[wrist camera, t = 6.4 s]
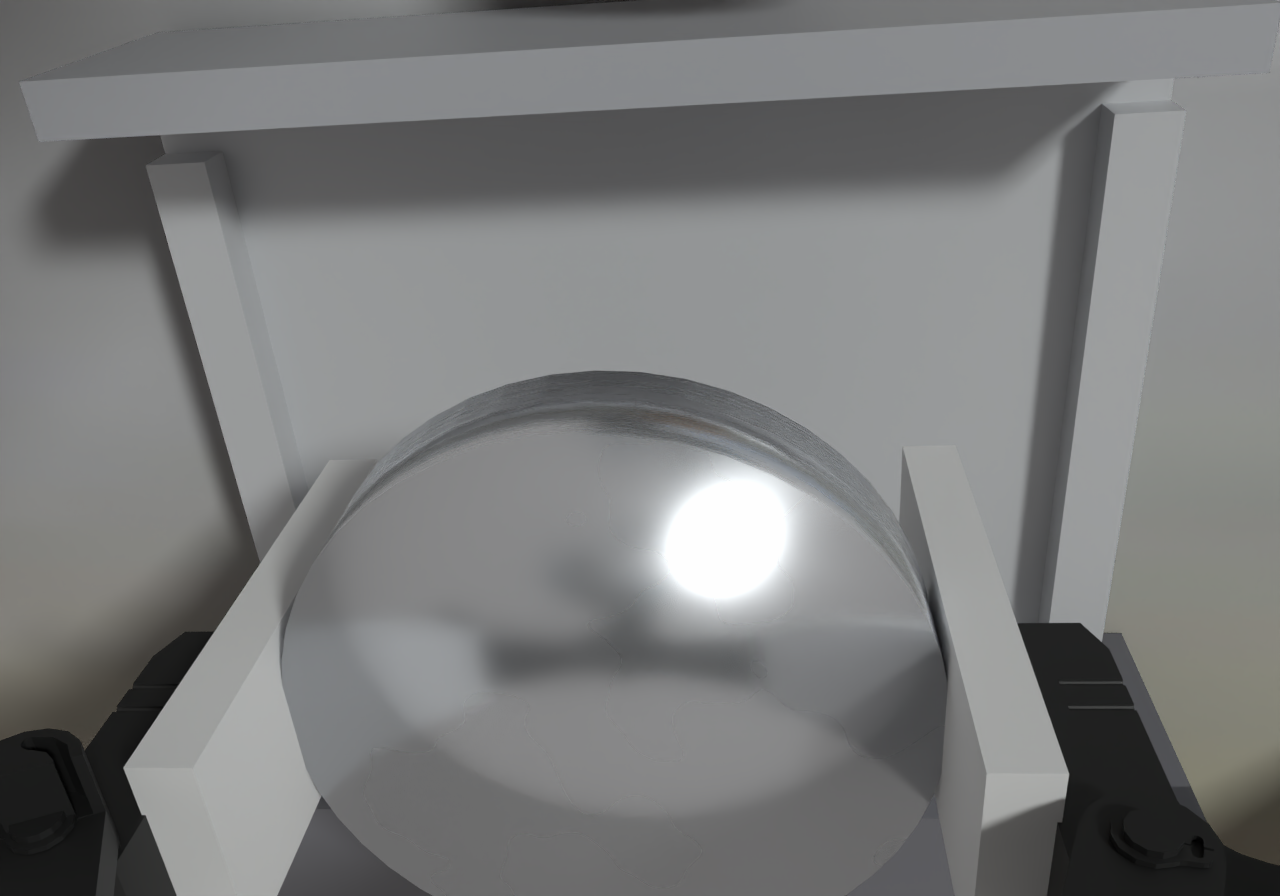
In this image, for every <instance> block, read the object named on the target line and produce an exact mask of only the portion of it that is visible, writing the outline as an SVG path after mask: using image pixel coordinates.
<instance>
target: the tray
mask: <svg viewBox="0 0 1280 896" xmlns="http://www.w3.org/2000/svg"><path fill="white" fill-rule="evenodd" d="M1279 21H1280V1H1277V0H636V1H621V2H606V3H591V4H576V5H562V6H547V7H532V8H517V9H502V10H487V11H472V12H457V13H442V14H427V15H412V16H397V17H382V18H367V19H352V20H337V21H322V22H307V23H292V24H277V25H263V26H248V27H233V28H218V29H203V30H188V31H173V32H158V33H154V34H152V35H149V36H146V37H143V38H140V39H138V40H135V41H132V42H129V43H126V44H124V45H121V46H118V47H115V48H112V49H109V50H107V51H104V52H101V53H98V54H95V55H93V56H90V57H87V58H84V59H81V60H79V61H76V62H73V63H70V64H67V65H65V66H62V67H59V68H56V69H53V70H51V71H48V72H45V73H42V74H39V75H37V76H34V77H31V78H28V79H25V80H22V81H20V82H19V84H20V87H21V90H22V93H23V96H24V99H25V102H26V105H27V108H28V111H29V114H30V117H31V120H32V123H33V126H34V129H35V132H36V135H37V138H38V141H39V142H45V141H63V140H81V139H98V138H116V137H134V136H152V135H160V137H161V141H162V144H163V148H164V151H165V155H163V156H161V157H159V158H158V159H156V160H154V161H152V162H151V163H149V164H147V165H145V166H146V169H147V173H148V176H149V180H150V183H151V187H152V190H153V193H154V197H155V200H156V204H157V207H158V211H159V214H160V218H161V221H162V225H163V228H164V232H165V235H166V239H167V242H168V246H169V249H170V252H171V256H172V259H173V263H174V266H175V270H176V273H177V277H178V280H179V284H180V287H181V291H182V294H183V298H184V301H185V304H186V308H187V311H188V315H189V318H190V322H191V325H192V329H193V332H194V336H195V339H196V343H197V346H198V350H199V353H200V357H201V360H202V363H203V367H204V370H205V374H206V377H207V381H208V384H209V388H210V391H211V395H212V398H213V402H214V405H215V409H216V412H217V415H218V419H219V422H220V426H221V429H222V433H223V436H224V440H225V443H226V447H227V450H228V454H229V457H230V461H231V464H232V468H233V471H234V474H235V478H236V481H237V485H238V488H239V492H240V495H241V499H242V502H243V506H244V509H245V513H246V516H247V520H248V523H249V526H250V530H251V533H252V537H253V540H254V544H255V547H256V551H257V554H258V558H259V561H260V563H261V562H262V560H263V559H264V557H265V556H266V554H267V553H268V551H269V550H270V548H271V547H272V545H273V544H274V542H275V541H276V539H277V538H278V536H279V535H280V533H281V532H282V530H283V529H284V527H285V526H286V524H287V523H288V521H289V520H290V518H291V517H292V515H293V514H294V512H295V511H296V509H297V508H298V506H299V505H300V503H301V502H302V500H303V499H304V497H305V496H306V495H307V493H308V492H309V490H310V489H311V487H312V486H313V484H314V483H315V481H316V480H317V478H318V477H319V475H320V474H321V472H322V471H323V469H324V468H325V466H326V465H327V463H328V462H329V460H355V459H377V462H379V461H380V460H381V459H382V458H383V457H384V456H385V455H386V454H387V453H389V452H390V451H391V450H392V449H393V448H394V447H395V446H396V445H397V444H398V443H399V442H400V441H401V440H402V439H403V438H404V437H406V436H407V435H409V434H410V433H411V432H413V431H414V430H416V429H417V428H418V427H420V426H421V425H422V424H424V423H425V422H427V421H428V420H429V419H431V418H432V417H434V416H436V415H437V414H439V413H441V412H443V411H445V410H447V409H449V408H451V407H453V406H455V405H457V404H459V403H460V402H462V401H464V400H466V399H468V398H471V397H473V396H476V395H479V394H482V393H484V392H487V391H490V390H493V389H496V388H498V387H501V386H504V385H507V384H510V383H515V382H519V381H524V380H528V379H533V378H537V377H542V376H547V375H552V374H563V373H574V372H584V371H627V372H644V373H651V374H657V375H664V376H671V377H678V378H684V379H688V380H692V381H695V382H699V383H703V384H706V385H710V386H714V387H717V388H721V389H725V390H728V391H731V392H733V393H736V394H738V395H740V396H743V397H745V398H748V399H750V400H753V401H755V402H758V403H760V404H763V405H765V406H767V407H770V408H771V409H773V410H775V411H777V412H779V413H780V414H782V415H784V416H786V417H788V418H789V419H791V420H793V421H795V422H796V423H798V424H800V425H802V426H804V427H805V428H807V429H809V430H810V431H811V432H813V433H814V434H815V435H817V436H818V437H819V438H821V439H822V440H823V441H825V442H826V443H827V444H829V445H830V446H831V447H833V448H834V449H835V450H837V451H838V452H839V453H841V454H842V455H843V456H844V457H845V458H846V459H847V460H848V461H849V462H850V463H851V464H852V465H853V466H854V467H855V468H856V469H857V470H858V471H859V472H860V473H861V474H862V475H863V476H864V477H865V478H866V479H867V480H868V481H869V482H870V483H871V484H872V485H873V487H874V488H875V489H876V491H877V492H878V493H879V494H880V496H881V497H882V498H883V500H884V501H885V502H886V504H887V505H888V506H889V507H890V509H891V510H892V511H893V513H894V515H895V516H896V518H897V520H898V522H899V516H900V493H901V470H902V447H903V446H935V445H956V448H957V451H958V454H959V457H960V460H961V463H962V465H963V468H964V471H965V474H966V477H967V480H968V483H969V486H970V489H971V491H972V494H973V497H974V500H975V503H976V506H977V509H978V512H979V515H980V517H981V520H982V523H983V526H984V529H985V532H986V535H987V538H988V541H989V544H990V546H991V549H992V552H993V555H994V558H995V561H996V564H997V567H998V570H999V572H1000V575H1001V578H1002V581H1003V584H1004V587H1005V590H1006V593H1007V596H1008V598H1009V601H1010V604H1011V607H1012V610H1013V613H1014V616H1015V619H1016V622H1017V623H1081V624H1082V625H1083V626H1084V627H1085V628H1087V629H1088V630H1089V631H1090V632H1091V633H1092V634H1093V635H1094V636H1095V637H1097V638H1098V639H1099V640H1100V641H1101V642H1102V638H1103V632H1104V626H1105V620H1106V613H1107V607H1108V601H1109V595H1110V588H1111V582H1112V576H1113V569H1114V563H1115V557H1116V551H1117V544H1118V538H1119V532H1120V526H1121V519H1122V513H1123V507H1124V500H1125V494H1126V488H1127V482H1128V475H1129V469H1130V463H1131V457H1132V450H1133V444H1134V438H1135V432H1136V425H1137V419H1138V413H1139V406H1140V400H1141V394H1142V388H1143V381H1144V375H1145V369H1146V363H1147V356H1148V350H1149V344H1150V337H1151V331H1152V325H1153V319H1154V312H1155V306H1156V300H1157V294H1158V287H1159V281H1160V275H1161V268H1162V262H1163V256H1164V250H1165V243H1166V237H1167V231H1168V225H1169V218H1170V212H1171V206H1172V200H1173V193H1174V187H1175V181H1176V174H1177V168H1178V162H1179V156H1180V149H1181V143H1182V137H1183V131H1184V124H1185V118H1186V112H1187V110H1185V109H1184V108H1182V107H1181V106H1179V105H1178V104H1176V103H1175V102H1173V101H1172V100H1171V97H1172V90H1173V84H1174V78H1188V77H1206V76H1224V75H1241V74H1259V73H1270V68H1271V63H1272V58H1273V53H1274V47H1275V42H1276V37H1277V32H1278V26H1279Z"/></svg>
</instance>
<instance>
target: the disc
mask: <svg viewBox="0 0 1280 896" xmlns="http://www.w3.org/2000/svg"><path fill="white" fill-rule="evenodd" d="M281 666H282V687H283V690H284V694H285V697H286V701H287V704H288V708H289V711H290V714H291V718H292V721H293V725H294V728H295V732H296V735H297V739H298V742H299V746H300V749H301V753H302V756H303V760H304V763H305V767H306V770H307V771H308V773H309V775H310V777H311V779H312V781H313V782H314V784H315V786H316V788H317V790H318V791H319V793H320V794H321V795H322V797H323V798H324V799H325V801H326V802H327V804H328V805H329V806H330V808H331V809H332V810H333V812H334V813H335V815H336V816H337V817H338V819H339V820H340V821H341V822H342V823H343V824H344V825H345V826H346V827H347V828H348V829H349V830H350V831H351V833H352V834H353V835H354V836H355V837H356V838H357V839H358V840H359V841H360V842H361V843H362V844H363V845H364V846H365V847H366V848H367V849H369V850H370V851H371V852H372V853H373V854H374V855H376V856H377V857H378V858H379V859H380V860H381V861H382V862H384V863H385V864H386V865H387V866H388V867H390V868H391V869H392V870H394V871H395V872H397V873H398V874H400V875H401V876H402V877H404V878H405V879H407V880H408V881H410V882H411V883H413V884H414V885H415V886H417V887H418V888H420V889H422V890H423V891H425V892H427V893H429V894H431V895H432V896H846V895H847V894H848V893H850V892H851V891H852V890H854V889H855V888H856V887H858V886H859V885H860V884H862V883H863V882H864V881H866V880H867V879H868V878H870V877H871V876H872V875H873V874H874V873H875V872H877V871H878V870H879V869H880V868H881V867H882V866H883V865H884V864H885V863H886V862H887V861H888V860H889V859H890V858H891V857H892V856H893V855H894V854H895V853H896V852H897V851H898V850H899V848H900V847H901V846H902V844H903V843H904V842H905V840H906V839H907V838H908V837H909V835H910V834H911V833H912V831H913V830H914V829H915V827H916V826H917V825H918V823H919V821H920V819H921V817H922V816H923V814H924V812H925V810H926V808H927V807H928V805H929V803H930V801H931V799H932V797H933V796H934V793H935V790H936V787H937V784H938V781H939V778H940V775H941V771H942V758H943V744H944V731H945V717H946V703H947V690H948V684H947V679H946V674H945V668H944V663H943V658H942V654H941V650H940V646H939V642H938V637H937V633H936V629H935V625H934V621H933V616H932V612H931V608H930V604H929V600H928V595H927V591H926V587H925V583H924V579H923V576H922V573H921V570H920V567H919V565H918V562H917V559H916V556H915V554H914V551H913V548H912V545H911V543H910V542H909V540H908V538H907V536H906V534H905V533H904V531H903V529H902V527H901V525H900V524H899V522H898V520H897V518H896V516H895V515H894V513H893V511H892V510H891V509H890V507H889V506H888V505H887V504H886V502H885V501H884V500H883V498H882V497H881V496H880V494H879V493H878V492H877V491H876V489H875V488H874V487H873V485H872V484H871V483H870V482H869V481H868V480H867V479H866V478H865V477H864V476H863V475H862V474H861V473H860V472H859V471H858V470H857V469H856V468H855V467H854V466H853V465H852V464H851V463H850V462H849V461H848V460H847V459H846V458H845V457H844V456H843V455H842V454H841V453H839V452H838V451H837V450H835V449H834V448H833V447H831V446H830V445H829V444H827V443H826V442H825V441H823V440H822V439H821V438H819V437H818V436H817V435H815V434H814V433H813V432H811V431H810V430H809V429H807V428H805V427H804V426H802V425H800V424H798V423H796V422H795V421H793V420H791V419H789V418H788V417H786V416H784V415H782V414H780V413H779V412H777V411H775V410H773V409H771V408H770V407H767V406H765V405H763V404H760V403H758V402H755V401H753V400H750V399H748V398H745V397H743V396H740V395H738V394H736V393H733V392H731V391H728V390H725V389H721V388H717V387H714V386H710V385H706V384H703V383H699V382H695V381H692V380H688V379H684V378H678V377H671V376H664V375H657V374H651V373H644V372H627V371H584V372H574V373H563V374H552V375H547V376H542V377H537V378H533V379H528V380H524V381H519V382H515V383H510V384H507V385H504V386H501V387H498V388H496V389H493V390H490V391H487V392H484V393H482V394H479V395H476V396H473V397H471V398H468V399H466V400H464V401H462V402H460V403H459V404H457V405H455V406H453V407H451V408H449V409H447V410H445V411H443V412H441V413H439V414H437V415H436V416H434V417H432V418H431V419H429V420H428V421H427V422H425V423H424V424H422V425H421V426H420V427H418V428H417V429H416V430H414V431H413V432H411V433H410V434H409V435H407V436H406V437H404V438H403V439H402V440H401V441H400V442H399V443H398V444H397V445H396V446H395V447H394V448H393V449H392V450H391V451H390V452H389V453H387V454H386V455H385V456H384V457H383V458H382V459H381V460H380V461H379V462H378V463H377V464H376V466H375V467H374V468H373V470H372V471H371V472H370V474H369V475H368V476H367V478H366V479H365V480H364V482H363V483H362V484H361V486H360V487H359V488H358V490H357V491H356V492H355V494H354V496H353V497H352V499H351V501H350V502H349V504H348V506H347V507H346V509H345V511H344V512H343V514H342V516H341V517H340V519H339V521H338V522H337V524H336V526H335V527H334V529H333V531H332V533H331V534H330V536H329V538H328V539H327V541H326V543H325V544H324V546H323V548H322V549H321V551H320V553H319V554H318V556H317V558H316V559H315V561H314V563H313V564H312V566H311V568H310V570H309V572H308V574H307V576H306V578H305V580H304V582H303V584H302V586H301V587H300V589H299V591H298V593H297V595H296V598H295V601H294V604H293V607H292V610H291V614H290V617H289V620H288V623H287V627H286V630H285V638H284V646H283V654H282V661H281Z"/></svg>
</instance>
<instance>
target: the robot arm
mask: <svg viewBox="0 0 1280 896" xmlns="http://www.w3.org/2000/svg"><path fill="white" fill-rule="evenodd" d="M377 463H378V462H377V459H355V460H329V462H328V463H327V465H326V466H325V468H324V469H323V471H322V472H321V474H320V475H319V477H318V478H317V480H316V481H315V483H314V484H313V486H312V487H311V489H310V490H309V492H308V493H307V495H306V496H305V497H304V499H303V500H302V502H301V503H300V505H299V506H298V508H297V509H296V511H295V512H294V514H293V515H292V517H291V518H290V520H289V521H288V523H287V524H286V526H285V527H284V529H283V530H282V532H281V533H280V535H279V536H278V538H277V539H276V541H275V542H274V544H273V545H272V547H271V548H270V550H269V551H268V553H267V554H266V556H265V557H264V559H263V560H262V562H261V563H260V565H259V566H258V568H257V569H256V571H255V572H254V574H253V575H252V577H251V578H250V580H249V581H248V583H247V584H246V585H245V587H244V588H243V590H242V591H241V593H240V594H239V596H238V597H237V599H236V600H235V602H234V603H233V605H232V606H231V608H230V609H229V611H228V612H227V614H226V615H225V617H224V618H223V620H222V621H221V623H220V624H219V626H218V627H217V629H216V630H215V632H185V633H183V634H182V635H181V636H179V637H178V638H177V639H175V640H174V641H173V642H171V643H170V644H169V645H167V646H166V647H165V648H164V649H162V650H161V651H160V652H158V653H157V654H156V655H154V656H153V657H152V659H151V660H150V661H149V663H148V664H147V666H146V667H145V668H144V670H143V671H142V672H141V674H140V675H139V677H138V678H137V679H136V681H135V682H134V684H133V689H129V690H128V692H127V693H126V695H125V696H124V697H123V699H122V700H121V701H120V703H119V704H118V706H117V711H116V712H112V714H111V715H110V717H109V718H108V719H107V721H106V722H105V723H104V725H103V726H102V728H101V729H100V730H99V732H98V733H97V735H96V736H95V737H94V739H93V740H92V741H91V743H90V744H89V746H88V747H87V748H86V750H85V751H84V748H83V746H82V744H81V741H80V740H79V739H78V738H76V737H75V736H74V735H72V734H71V733H70V732H68V731H62V730H55V729H42V730H35V731H27V732H23V733H20V734H18V735H15V736H12V737H9V738H6V739H4V740H1V741H0V896H277V895H278V893H279V891H280V888H281V886H282V884H283V882H284V879H285V877H286V875H287V873H288V870H289V868H290V866H291V863H292V861H293V859H294V857H295V854H296V852H297V850H298V848H299V845H300V843H301V841H302V839H303V836H304V834H305V832H306V830H307V827H308V825H309V823H310V821H311V818H312V816H313V814H314V812H315V809H316V807H317V805H318V803H319V800H320V798H321V796H322V795H321V794H320V793H319V791H318V790H317V788H316V786H315V784H314V782H313V781H312V779H311V777H310V775H309V773H308V771H307V770H306V767H305V763H304V760H303V756H302V753H301V749H300V746H299V742H298V739H297V735H296V732H295V728H294V725H293V721H292V718H291V714H290V711H289V708H288V704H287V701H286V697H285V694H284V690H283V687H282V666H281V661H282V654H283V646H284V638H285V630H286V627H287V623H288V620H289V617H290V614H291V610H292V607H293V604H294V601H295V598H296V595H297V593H298V591H299V589H300V587H301V586H302V584H303V582H304V580H305V578H306V576H307V574H308V572H309V570H310V568H311V566H312V564H313V563H314V561H315V559H316V558H317V556H318V554H319V553H320V551H321V549H322V548H323V546H324V544H325V543H326V541H327V539H328V538H329V536H330V534H331V533H332V531H333V529H334V527H335V526H336V524H337V522H338V521H339V519H340V517H341V516H342V514H343V512H344V511H345V509H346V507H347V506H348V504H349V502H350V501H351V499H352V497H353V496H354V494H355V492H356V491H357V490H358V488H359V487H360V486H361V484H362V483H363V482H364V480H365V479H366V478H367V476H368V475H369V474H370V472H371V471H372V470H373V468H374V467H375V466H376V464H377ZM899 524H900V525H901V527H902V529H903V531H904V533H905V534H906V536H907V538H908V540H909V542H910V543H911V545H912V548H913V551H914V554H915V556H916V559H917V562H918V565H919V567H920V570H921V573H922V576H923V579H924V583H925V587H926V591H927V595H928V600H929V604H930V608H931V612H932V616H933V621H934V625H935V629H936V633H937V637H938V642H939V646H940V650H941V654H942V658H943V663H944V668H945V674H946V679H947V684H948V690H947V703H946V717H945V731H944V744H943V758H942V771H941V775H940V778H939V781H938V784H937V787H936V790H935V799H936V804H937V809H938V814H939V819H940V824H941V829H942V834H943V839H944V844H945V849H946V854H947V859H948V864H949V869H950V875H951V880H952V885H953V890H954V895H955V896H1280V866H1278V865H1274V864H1270V863H1266V862H1263V861H1260V860H1257V859H1254V858H1251V857H1248V856H1245V855H1242V854H1240V853H1238V852H1236V851H1234V850H1232V849H1230V848H1228V847H1226V846H1224V845H1223V843H1222V842H1221V841H1220V839H1219V838H1218V836H1217V835H1216V834H1215V832H1214V831H1213V830H1212V828H1211V827H1210V825H1209V824H1208V823H1207V822H1205V821H1204V820H1203V819H1201V818H1200V817H1199V816H1197V815H1196V814H1195V813H1193V812H1192V811H1191V810H1189V809H1188V808H1187V807H1185V806H1182V805H1180V804H1179V802H1178V801H1177V799H1176V796H1175V794H1174V792H1173V790H1172V787H1171V785H1170V783H1169V781H1168V779H1167V776H1166V774H1165V772H1164V770H1163V767H1162V765H1161V763H1160V761H1159V758H1158V756H1157V754H1156V752H1155V750H1154V747H1153V745H1152V743H1151V741H1150V738H1149V736H1148V734H1147V732H1146V730H1145V727H1144V725H1143V723H1142V721H1141V718H1140V716H1139V714H1138V712H1137V710H1134V703H1133V701H1132V698H1131V696H1130V694H1129V692H1128V689H1127V687H1126V685H1123V678H1122V676H1121V674H1120V672H1119V669H1118V667H1117V665H1116V663H1115V660H1114V658H1113V656H1112V654H1111V652H1110V649H1109V648H1108V647H1107V646H1105V645H1104V644H1103V643H1102V642H1101V641H1100V640H1099V639H1098V638H1097V637H1095V636H1094V635H1093V634H1092V633H1091V632H1090V631H1089V630H1088V629H1087V628H1085V627H1084V626H1083V625H1082V624H1081V623H1017V622H1016V619H1015V616H1014V613H1013V610H1012V607H1011V604H1010V601H1009V598H1008V596H1007V593H1006V590H1005V587H1004V584H1003V581H1002V578H1001V575H1000V572H999V570H998V567H997V564H996V561H995V558H994V555H993V552H992V549H991V546H990V544H989V541H988V538H987V535H986V532H985V529H984V526H983V523H982V520H981V517H980V515H979V512H978V509H977V506H976V503H975V500H974V497H973V494H972V491H971V489H970V486H969V483H968V480H967V477H966V474H965V471H964V468H963V465H962V463H961V460H960V457H959V454H958V451H957V448H956V445H935V446H903V447H902V470H901V493H900V516H899Z"/></svg>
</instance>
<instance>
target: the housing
mask: <svg viewBox="0 0 1280 896" xmlns="http://www.w3.org/2000/svg"><path fill="white" fill-rule="evenodd" d="M1102 643H1103V644H1104V645H1105V646H1107V647H1108V648H1109V649H1110V652H1111V654H1112V656H1113V658H1114V660H1115V663H1116V665H1117V667H1118V669H1119V672H1120V674H1121V676H1122V678H1123V685H1126V687H1127V689H1128V692H1129V694H1130V696H1131V698H1132V701H1133V703H1134V710H1137V712H1138V714H1139V716H1140V718H1141V721H1142V723H1143V725H1144V727H1145V730H1146V732H1147V734H1148V736H1149V738H1150V741H1151V743H1152V745H1153V747H1154V750H1155V752H1156V754H1157V756H1158V758H1159V761H1160V763H1161V765H1162V767H1163V770H1164V772H1165V774H1166V776H1167V779H1168V781H1169V783H1170V785H1171V787H1172V790H1173V792H1174V794H1175V796H1176V799H1177V801H1178V802H1179V804H1180V805H1182V806H1185V807H1187V808H1188V809H1189V810H1191V811H1192V812H1193V813H1195V814H1196V815H1197V816H1199V817H1200V818H1201V819H1203V820H1204V821H1205V822H1207V821H1206V819H1205V817H1204V815H1203V813H1202V810H1201V808H1200V806H1199V804H1198V801H1197V799H1196V797H1195V795H1194V793H1193V790H1192V788H1191V786H1190V784H1189V782H1188V779H1187V777H1186V775H1185V773H1184V771H1183V768H1182V766H1181V764H1180V762H1179V760H1178V757H1177V755H1176V753H1175V751H1174V749H1173V746H1172V744H1171V742H1170V740H1169V738H1168V735H1167V733H1166V731H1165V729H1164V727H1163V724H1162V722H1161V720H1160V718H1159V715H1158V713H1157V711H1156V709H1155V707H1154V704H1153V702H1152V700H1151V698H1150V696H1149V693H1148V691H1147V689H1146V687H1145V685H1144V682H1143V680H1142V678H1141V676H1140V674H1139V671H1138V669H1137V667H1136V665H1135V663H1134V660H1133V658H1132V656H1131V654H1130V652H1129V649H1128V647H1127V645H1126V643H1125V640H1124V638H1123V636H1122V634H1121V633H1103V638H1102ZM277 896H432V895H431V894H429V893H427V892H425V891H423V890H422V889H420V888H418V887H417V886H415V885H414V884H413V883H411V882H410V881H408V880H407V879H405V878H404V877H402V876H401V875H400V874H398V873H397V872H395V871H394V870H392V869H391V868H390V867H388V866H387V865H386V864H385V863H384V862H382V861H381V860H380V859H379V858H378V857H377V856H376V855H374V854H373V853H372V852H371V851H370V850H369V849H367V848H366V847H365V846H364V845H363V844H362V843H361V842H360V841H359V840H358V839H357V838H356V837H355V836H354V835H353V834H352V833H351V831H350V830H349V829H348V828H347V827H346V826H345V825H344V824H343V823H342V822H341V821H340V820H339V819H338V817H337V816H336V815H335V813H334V812H333V810H332V809H331V808H330V806H329V805H328V804H327V802H326V801H325V799H324V798H323V797H322V796H321V798H320V800H319V803H318V805H317V807H316V809H315V812H314V814H313V816H312V818H311V821H310V823H309V825H308V827H307V830H306V832H305V834H304V836H303V839H302V841H301V843H300V845H299V848H298V850H297V852H296V854H295V857H294V859H293V861H292V863H291V866H290V868H289V870H288V873H287V875H286V877H285V879H284V882H283V884H282V886H281V888H280V891H279V893H278V895H277ZM846 896H955V895H954V890H953V885H952V880H951V875H950V869H949V864H948V859H947V854H946V849H945V844H944V839H943V834H942V829H941V824H940V819H939V814H938V809H937V804H936V799H935V793H934V796H933V797H932V799H931V801H930V803H929V805H928V807H927V808H926V810H925V812H924V814H923V816H922V817H921V819H920V821H919V823H918V825H917V826H916V827H915V829H914V830H913V831H912V833H911V834H910V835H909V837H908V838H907V839H906V840H905V842H904V843H903V844H902V846H901V847H900V848H899V850H898V851H897V852H896V853H895V854H894V855H893V856H892V857H891V858H890V859H889V860H888V861H887V862H886V863H885V864H884V865H883V866H882V867H881V868H880V869H879V870H878V871H877V872H875V873H874V874H873V875H872V876H871V877H870V878H868V879H867V880H866V881H864V882H863V883H862V884H860V885H859V886H858V887H856V888H855V889H854V890H852V891H851V892H850V893H848V894H847V895H846Z"/></svg>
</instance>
